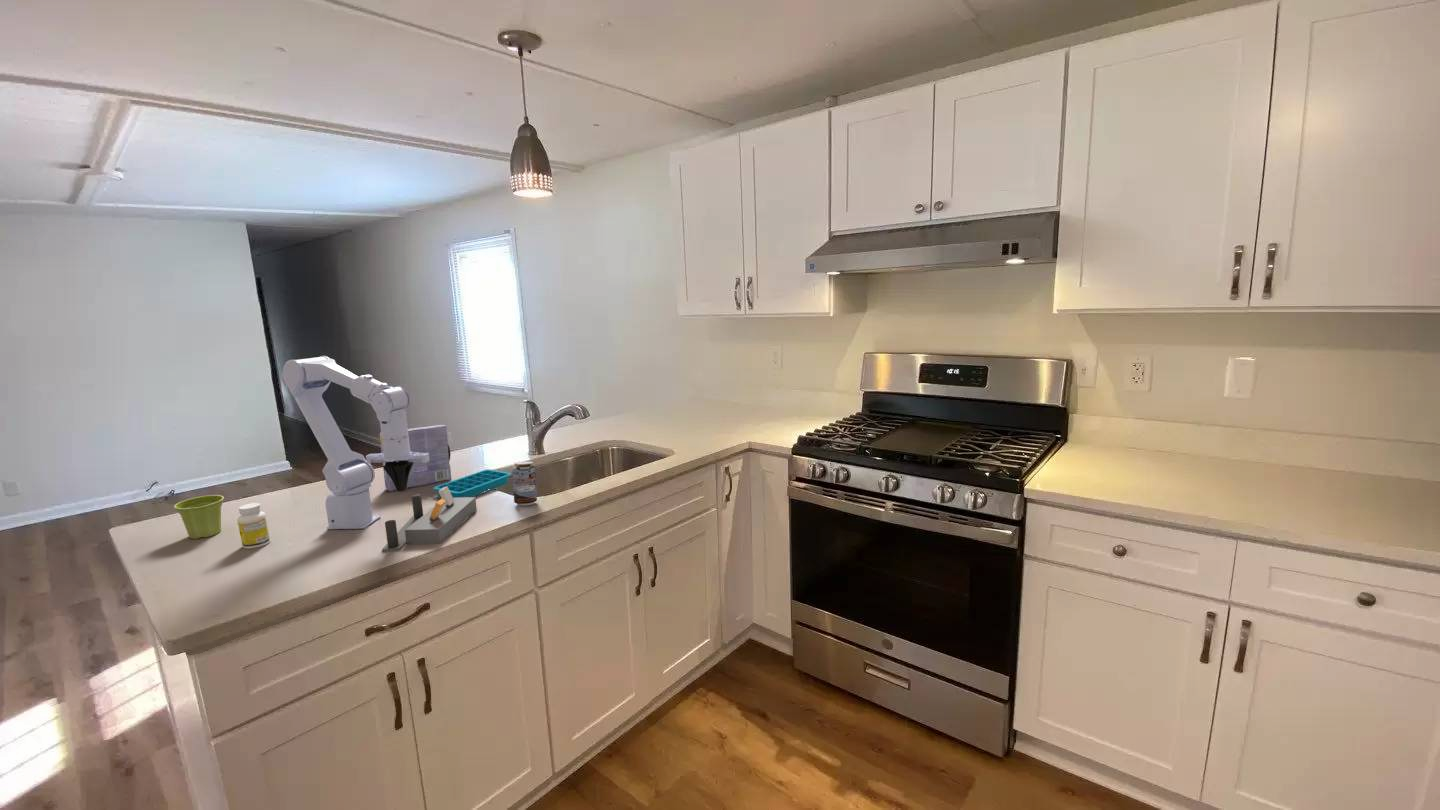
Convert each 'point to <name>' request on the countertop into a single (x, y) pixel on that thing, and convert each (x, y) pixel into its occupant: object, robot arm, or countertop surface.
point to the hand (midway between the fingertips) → (401, 490)
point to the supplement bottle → (253, 526)
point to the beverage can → (524, 483)
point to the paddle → (446, 496)
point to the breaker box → (440, 522)
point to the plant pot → (201, 515)
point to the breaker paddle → (437, 509)
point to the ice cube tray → (475, 483)
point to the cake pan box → (439, 455)
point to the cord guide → (398, 538)
